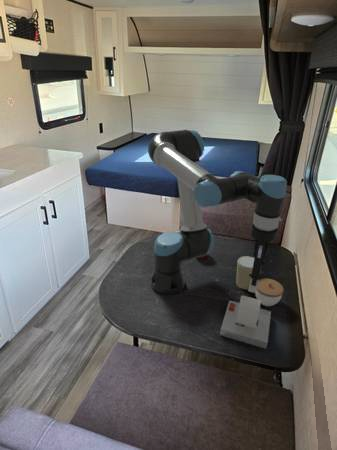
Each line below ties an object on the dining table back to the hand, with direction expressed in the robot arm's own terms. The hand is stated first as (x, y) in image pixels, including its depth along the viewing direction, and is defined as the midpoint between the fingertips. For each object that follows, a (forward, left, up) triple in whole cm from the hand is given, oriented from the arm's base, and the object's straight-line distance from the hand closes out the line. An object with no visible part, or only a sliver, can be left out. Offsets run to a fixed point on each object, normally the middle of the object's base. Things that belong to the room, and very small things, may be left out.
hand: (253, 285), depth 102 cm
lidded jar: (+6, +17, -19) cm, 26 cm away
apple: (-28, +39, -19) cm, 52 cm away
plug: (0, 0, -19) cm, 19 cm away
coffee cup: (-4, +25, -19) cm, 32 cm away
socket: (0, 0, -19) cm, 19 cm away
